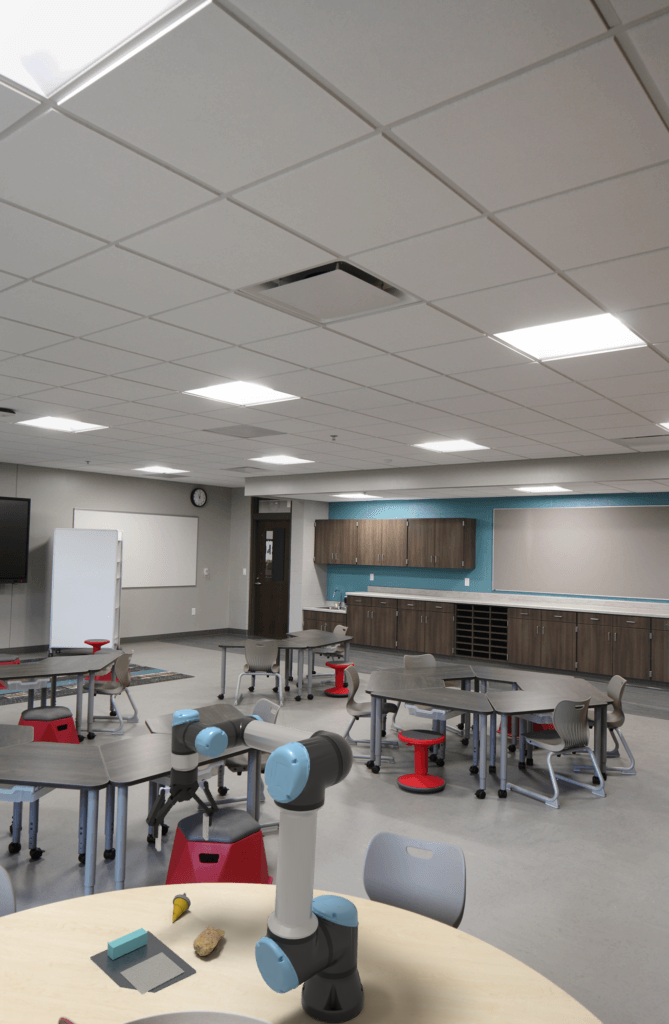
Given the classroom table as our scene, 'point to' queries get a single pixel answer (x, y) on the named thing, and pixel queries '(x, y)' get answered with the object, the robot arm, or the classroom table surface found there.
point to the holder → (145, 967)
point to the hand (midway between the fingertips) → (182, 843)
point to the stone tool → (207, 940)
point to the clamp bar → (127, 943)
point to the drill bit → (180, 905)
